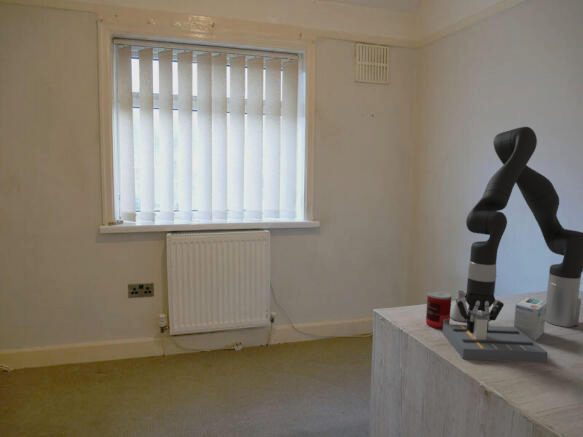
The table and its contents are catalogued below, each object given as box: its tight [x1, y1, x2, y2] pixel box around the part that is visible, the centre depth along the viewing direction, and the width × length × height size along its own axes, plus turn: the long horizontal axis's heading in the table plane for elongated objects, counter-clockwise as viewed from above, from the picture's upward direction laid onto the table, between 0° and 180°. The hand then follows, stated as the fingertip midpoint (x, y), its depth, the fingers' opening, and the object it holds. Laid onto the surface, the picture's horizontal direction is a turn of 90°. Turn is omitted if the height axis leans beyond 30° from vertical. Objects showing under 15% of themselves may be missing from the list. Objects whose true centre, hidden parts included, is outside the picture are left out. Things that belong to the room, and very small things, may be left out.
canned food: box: [425, 290, 452, 330], centre depth 138 cm, size 8×8×11 cm
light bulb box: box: [513, 297, 547, 342], centre depth 131 cm, size 11×7×11 cm, turn 134°
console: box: [441, 323, 548, 364], centre depth 122 cm, size 23×18×4 cm
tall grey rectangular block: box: [468, 310, 489, 340], centre depth 121 cm, size 3×6×7 cm, turn 177°
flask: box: [450, 289, 468, 322], centre depth 144 cm, size 7×7×10 cm
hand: (476, 332), depth 122 cm, fingers closed on tall grey rectangular block, 3 cm apart
